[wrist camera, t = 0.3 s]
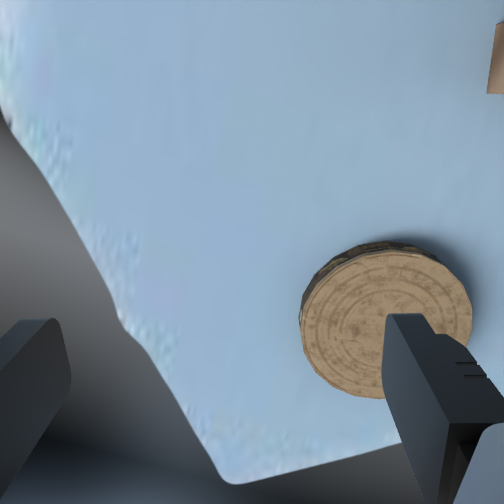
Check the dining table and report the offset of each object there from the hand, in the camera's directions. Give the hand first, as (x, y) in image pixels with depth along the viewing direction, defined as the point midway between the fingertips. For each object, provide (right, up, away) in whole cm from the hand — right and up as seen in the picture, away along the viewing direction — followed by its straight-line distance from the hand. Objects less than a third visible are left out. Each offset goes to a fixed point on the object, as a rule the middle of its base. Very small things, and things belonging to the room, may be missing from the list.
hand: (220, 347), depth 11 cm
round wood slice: (+13, -4, +33) cm, 35 cm away
